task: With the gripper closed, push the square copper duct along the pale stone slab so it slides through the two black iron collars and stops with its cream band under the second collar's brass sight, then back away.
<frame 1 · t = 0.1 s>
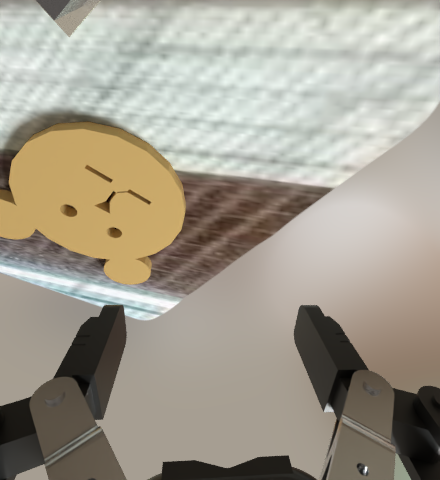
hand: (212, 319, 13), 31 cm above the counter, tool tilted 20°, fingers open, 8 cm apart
decorative plaque: (101, 204, 48), on the counter
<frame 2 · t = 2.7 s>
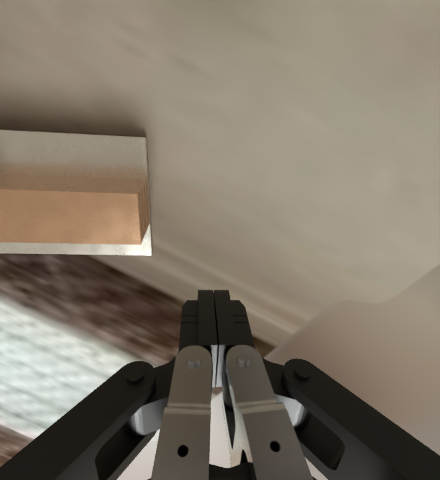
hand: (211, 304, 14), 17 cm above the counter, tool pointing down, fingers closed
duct: (42, 198, 27), point 1 cm above the counter, touching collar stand
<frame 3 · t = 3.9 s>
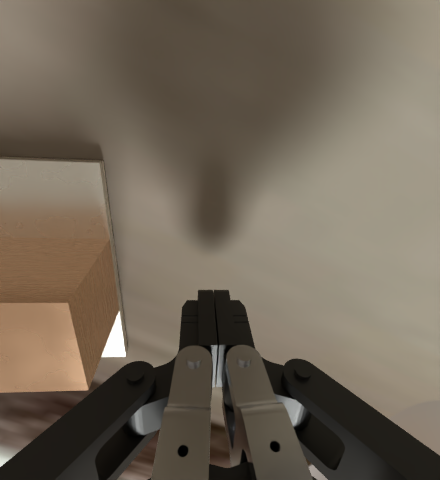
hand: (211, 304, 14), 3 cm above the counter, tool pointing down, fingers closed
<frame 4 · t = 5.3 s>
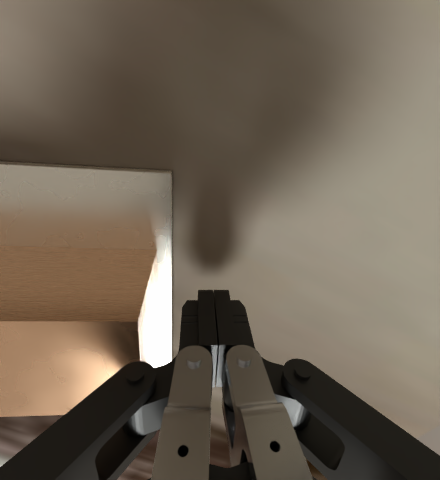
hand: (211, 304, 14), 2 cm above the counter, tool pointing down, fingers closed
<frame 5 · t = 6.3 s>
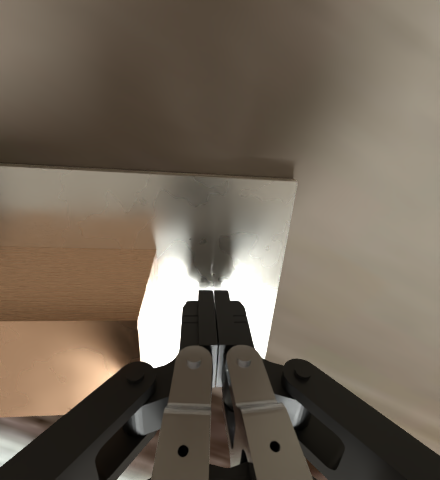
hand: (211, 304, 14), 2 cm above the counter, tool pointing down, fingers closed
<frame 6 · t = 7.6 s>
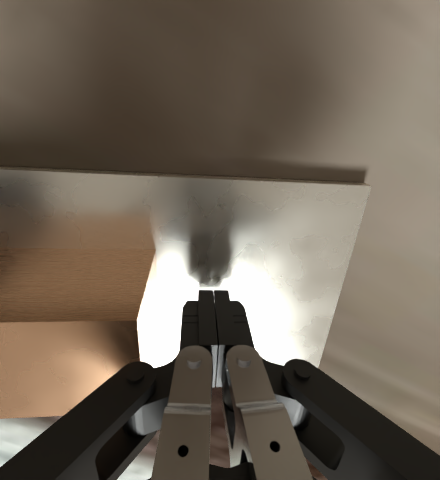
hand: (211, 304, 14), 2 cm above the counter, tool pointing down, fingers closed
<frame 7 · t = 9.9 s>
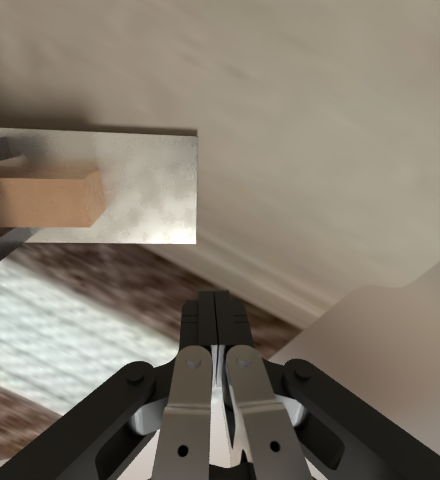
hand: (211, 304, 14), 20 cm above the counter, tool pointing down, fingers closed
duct: (2, 188, 29), point 1 cm above the counter, touching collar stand
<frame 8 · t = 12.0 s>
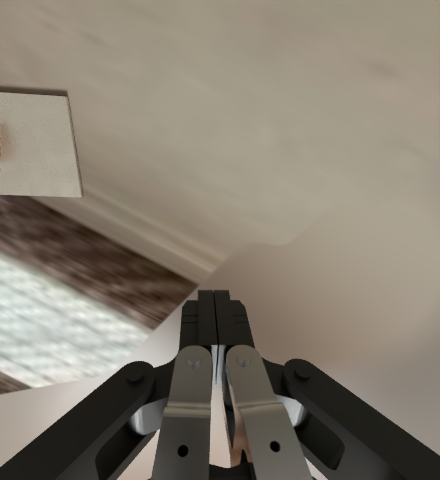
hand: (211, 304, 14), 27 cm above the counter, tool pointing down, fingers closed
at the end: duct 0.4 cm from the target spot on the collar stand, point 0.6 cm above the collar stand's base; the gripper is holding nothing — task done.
